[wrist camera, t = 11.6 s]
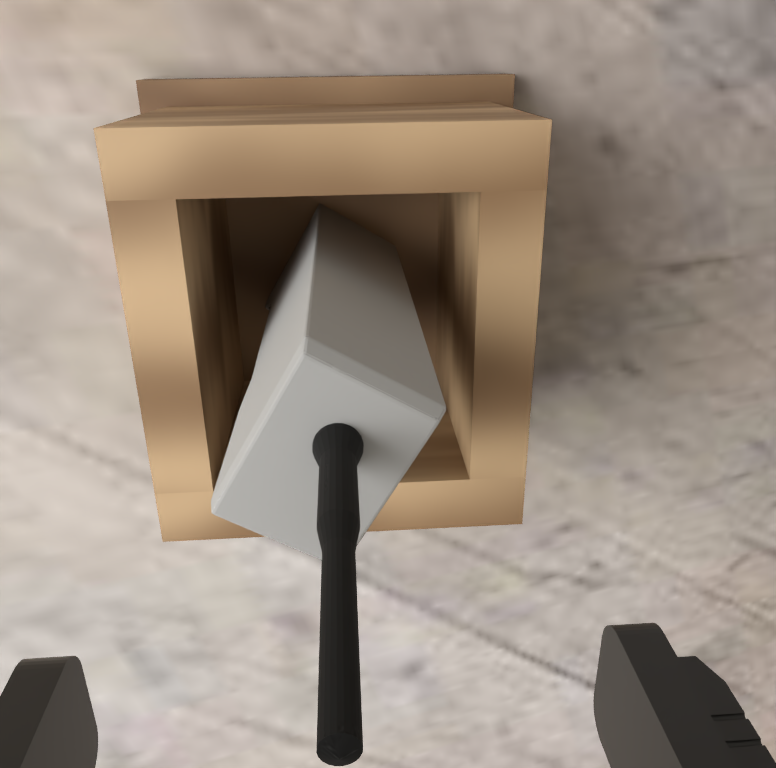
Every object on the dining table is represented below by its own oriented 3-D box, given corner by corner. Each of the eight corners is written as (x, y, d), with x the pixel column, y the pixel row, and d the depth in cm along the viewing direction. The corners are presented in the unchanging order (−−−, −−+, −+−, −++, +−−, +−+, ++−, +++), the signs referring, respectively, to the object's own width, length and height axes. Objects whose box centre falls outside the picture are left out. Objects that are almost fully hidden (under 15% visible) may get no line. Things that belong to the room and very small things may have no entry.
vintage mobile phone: (266, 300, 33) (106, 863, 10) (319, 201, 31) (276, 600, 8) (340, 338, 34) (350, 930, 11) (395, 244, 32) (544, 708, 9)
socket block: (145, 79, 30) (49, 90, 20) (506, 73, 31) (589, 81, 21) (192, 426, 37) (138, 565, 27) (490, 413, 37) (546, 544, 27)
